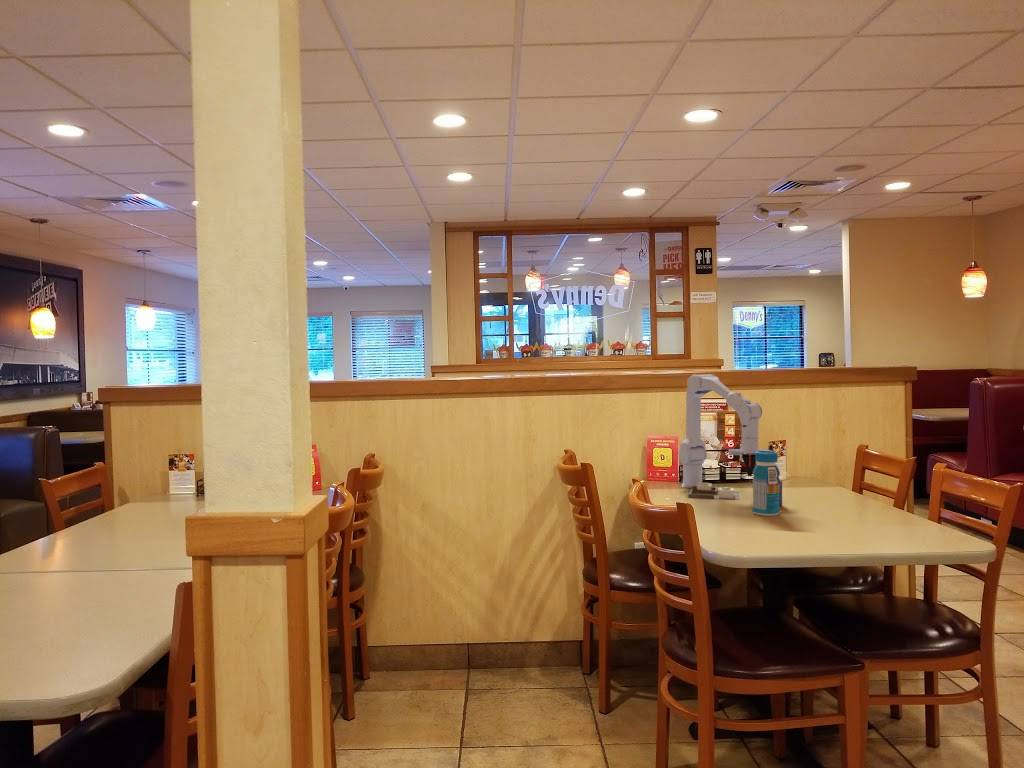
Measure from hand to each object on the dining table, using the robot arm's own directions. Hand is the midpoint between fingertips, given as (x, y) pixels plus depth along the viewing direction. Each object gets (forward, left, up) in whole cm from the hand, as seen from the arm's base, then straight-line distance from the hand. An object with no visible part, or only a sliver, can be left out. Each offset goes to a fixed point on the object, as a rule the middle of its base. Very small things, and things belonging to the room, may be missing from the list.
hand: (749, 475), depth 269 cm
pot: (0, -8, -8) cm, 11 cm away
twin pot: (-8, -16, -8) cm, 20 cm away
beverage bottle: (+24, +5, -8) cm, 26 cm away
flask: (+12, +6, -8) cm, 16 cm away
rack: (-4, -13, -8) cm, 16 cm away
